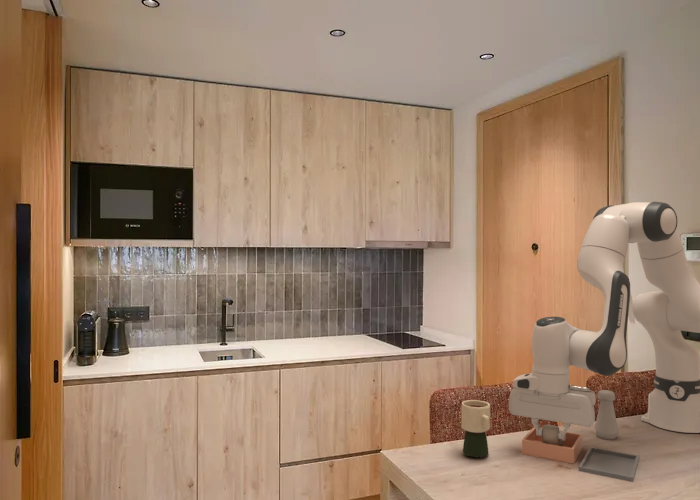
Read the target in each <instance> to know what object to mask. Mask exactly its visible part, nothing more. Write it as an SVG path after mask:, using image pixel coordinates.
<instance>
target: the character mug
mask: <svg viewBox="0 0 700 500" xmlns="http://www.w3.org/2000/svg"><path fill="white" fill-rule="evenodd" d="M460 414H461V429H462V430H463V431H465V433H464V438H463V447H462V452H463V454H464V455H465V456H469V457H474V458H475V457H477V458H481V457H488V456H489V444H488V438H487V434H486V432H488V431H489V430H490V428H491V423H490V421H491V420H490V418H491V404H490V403H489V402H488V401H484V400H479V399H470V400H469V399H468V400H463V401H462V402H461V413H460Z"/></svg>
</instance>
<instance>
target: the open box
mask: <svg viewBox="0 0 700 500" xmlns="http://www.w3.org/2000/svg"><path fill="white" fill-rule="evenodd" d="M561 431H562V432H563V431H564V430H561ZM583 449H584V434H582V433H581V434H580V433H576V432H574V433H573V432H570V431H569V432H568V431H567V432H566V440H565V441H563V446H557V445H552V444H546V443H542V437H540V436H536V429H535V427H534V426H533V427H532V428H531V430H530V431H529V432H528V433H527V434H526V435H525V436H524V437H523V438H522V439H521V454H522V455H525V456H531V457H534V458H540V459H545V460H551V461H554V462H555V461H556V462H560V463H566V464H569V465H570V464H571V465H574V464H575V463H576V462H577V460H578V458H579V456H580V454H581V453H582V450H583Z"/></svg>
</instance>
